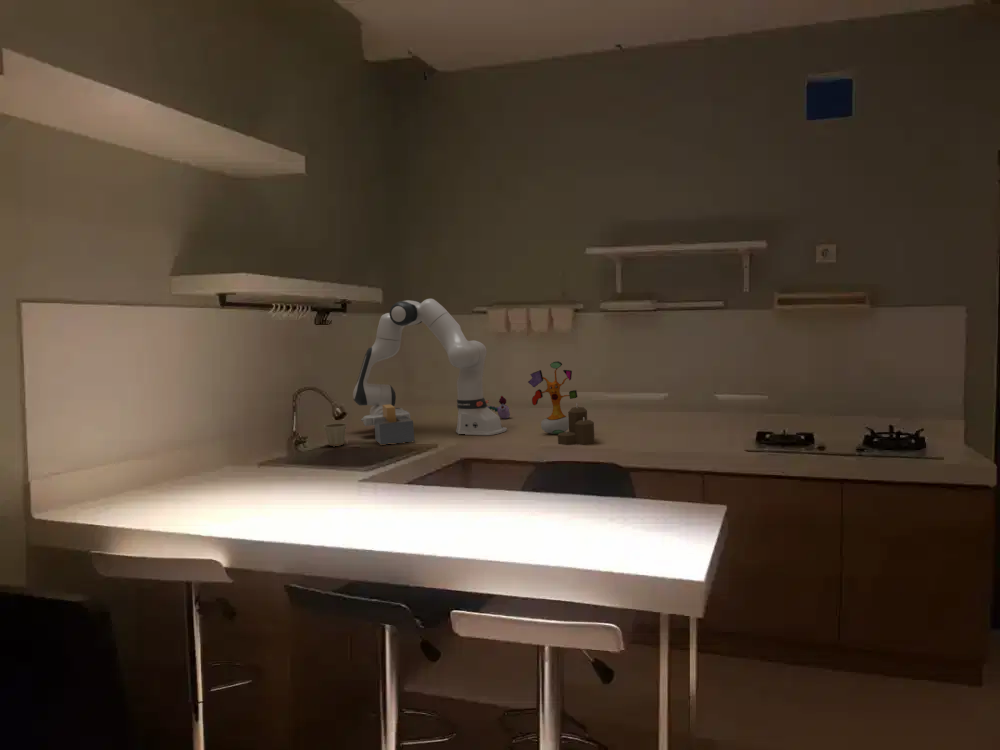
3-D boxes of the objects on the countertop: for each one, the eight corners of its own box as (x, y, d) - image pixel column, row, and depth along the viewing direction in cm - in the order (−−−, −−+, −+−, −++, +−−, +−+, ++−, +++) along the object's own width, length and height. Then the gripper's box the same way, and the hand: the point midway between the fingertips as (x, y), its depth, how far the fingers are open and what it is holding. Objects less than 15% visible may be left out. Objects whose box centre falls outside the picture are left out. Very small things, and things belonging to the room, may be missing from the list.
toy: (502, 432, 390) (516, 404, 388) (473, 419, 389) (487, 390, 388) (502, 428, 400) (516, 400, 399) (474, 415, 400) (488, 387, 398)
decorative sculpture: (529, 435, 347) (525, 363, 344) (532, 432, 355) (529, 361, 352) (577, 435, 342) (574, 362, 339) (579, 431, 350) (576, 360, 347)
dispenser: (375, 441, 353) (374, 418, 352) (408, 437, 358) (406, 414, 357) (380, 446, 342) (379, 422, 341) (414, 442, 346) (412, 418, 345)
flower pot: (335, 442, 355) (334, 422, 354) (353, 444, 350) (351, 423, 349) (320, 447, 347) (318, 426, 346) (337, 448, 342) (336, 427, 341)
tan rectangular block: (384, 437, 362) (382, 405, 360) (392, 436, 363) (390, 404, 362) (389, 440, 353) (386, 408, 351) (397, 440, 354) (395, 407, 352)
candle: (563, 438, 338) (561, 401, 337) (597, 438, 335) (595, 400, 333) (557, 445, 325) (555, 406, 324) (592, 445, 322) (590, 406, 320)
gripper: (359, 412, 367) (364, 416, 354) (405, 407, 373) (412, 411, 360) (360, 426, 367) (366, 431, 354) (406, 421, 374) (413, 426, 360)
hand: (389, 421), depth 357 cm, fingers open, 8 cm apart
